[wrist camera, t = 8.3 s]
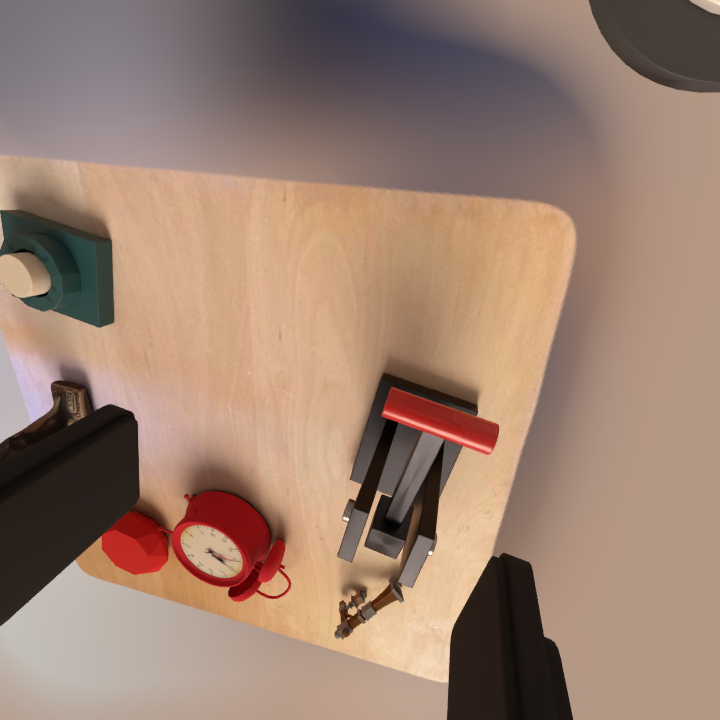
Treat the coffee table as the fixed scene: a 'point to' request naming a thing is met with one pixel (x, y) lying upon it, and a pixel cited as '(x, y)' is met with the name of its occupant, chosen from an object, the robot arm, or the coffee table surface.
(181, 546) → the alarm clock
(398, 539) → the red handled lever
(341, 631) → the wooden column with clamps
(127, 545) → the gemstone
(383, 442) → the black lever base
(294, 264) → the coffee table surface
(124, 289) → the coffee table surface
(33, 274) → the power button
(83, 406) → the statue
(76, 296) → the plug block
